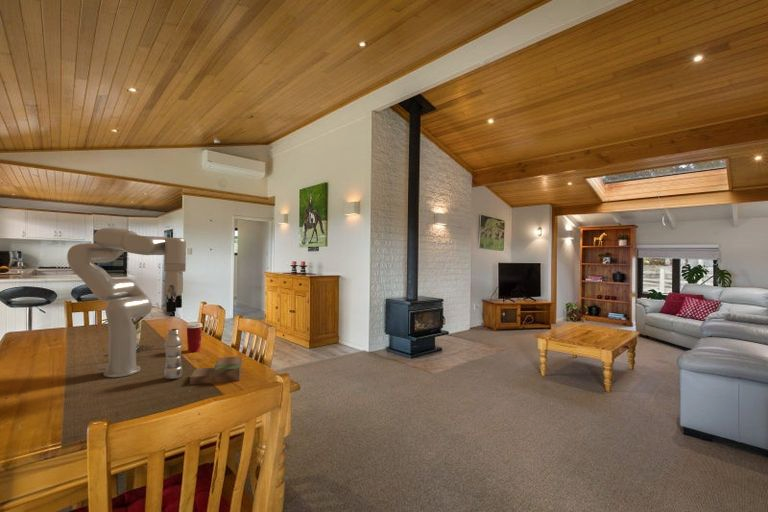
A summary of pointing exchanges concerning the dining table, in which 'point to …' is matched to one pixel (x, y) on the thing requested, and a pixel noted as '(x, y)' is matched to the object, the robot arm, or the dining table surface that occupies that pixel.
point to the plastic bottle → (173, 355)
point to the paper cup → (194, 336)
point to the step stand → (219, 371)
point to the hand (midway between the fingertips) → (174, 309)
